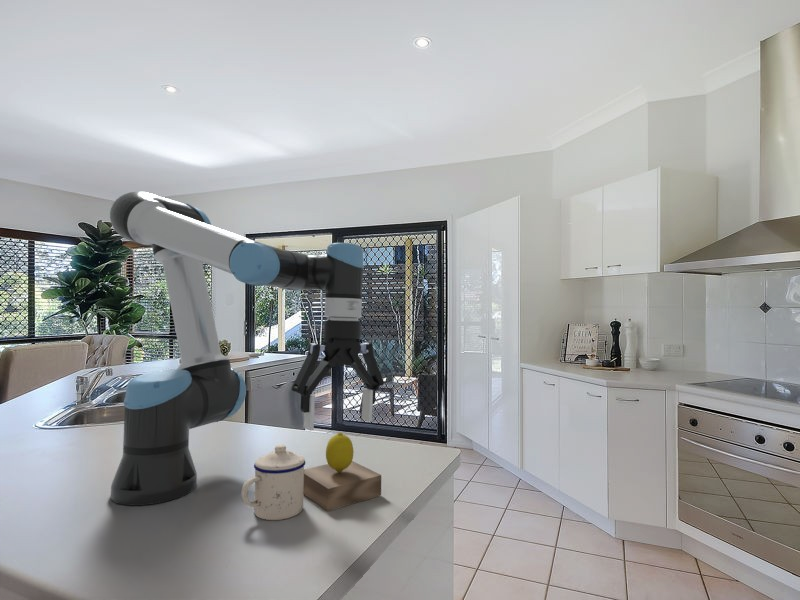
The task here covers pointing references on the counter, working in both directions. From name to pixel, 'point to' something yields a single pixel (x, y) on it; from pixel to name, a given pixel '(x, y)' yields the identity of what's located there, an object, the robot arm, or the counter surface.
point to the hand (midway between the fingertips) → (339, 424)
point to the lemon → (339, 452)
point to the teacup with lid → (277, 485)
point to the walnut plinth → (341, 485)
